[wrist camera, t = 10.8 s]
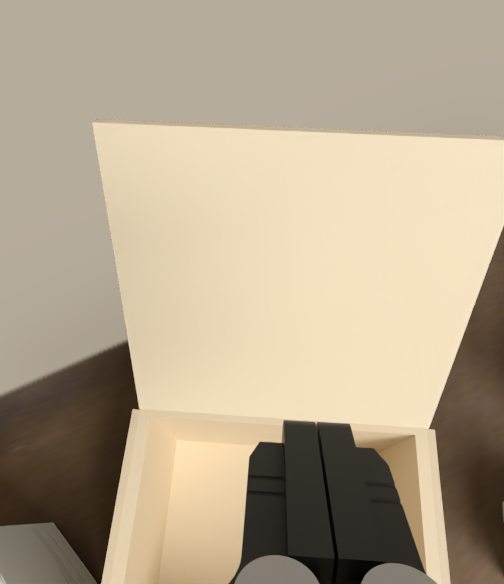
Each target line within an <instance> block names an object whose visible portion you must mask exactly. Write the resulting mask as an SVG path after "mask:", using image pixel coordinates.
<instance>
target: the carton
mask: <svg viewBox="0 0 504 584" xmlns="http://www.w3.org/2000/svg"><path fill="white" fill-rule="evenodd" d="M283 420H292V421H309V420H295V419H280V418H265V417H250V416H236V415H221V414H206V413H191V412H177V411H162V410H147V409H140V410H137V409H132V415H131V420H130V426H129V431H128V437H127V442H126V448H125V454H124V459H123V465H122V470H121V476H120V481H119V487H118V493H117V498H116V504H115V509H114V515H113V520H112V526H111V532H110V537H109V543H108V548H107V554H106V559H105V565H104V571H103V576H102V582H101V584H228V583H229V582H230V581H231V580H232V579H233V577H234V576H235V574H236V572H237V570H238V568H239V565H240V562H241V555H242V543H243V530H244V517H245V505H246V493H247V480H248V467H249V456H250V455H251V453H252V452H253V451H254V449H255V448H256V446H257V445H258V443H259V442H276V443H282V429H283ZM309 422H315V423H316V424H317V422H324V421H309ZM329 423H339V422H329ZM346 424H350V426H351V429H352V433H353V437H354V441H355V445H356V447H362V448H374V449H375V450H376V452H377V453H378V454H379V455H380V456H381V457H382V458H383V459H384V460H385V462H386V463H387V464H388V465H389V468H390V471H391V474H392V477H393V480H394V483H395V488H397V491H398V494H399V497H400V503H401V504H402V506H403V509H404V512H405V515H406V518H407V521H408V524H409V527H410V529H411V532H412V535H413V538H414V541H415V544H416V547H417V550H418V553H419V556H420V559H421V562H422V565H423V568H424V570H425V572H426V575H427V576H429V577H430V578H431V579H433V580H434V581H435V582H436V583H437V584H450V574H449V564H448V555H447V545H446V535H445V525H444V515H443V506H442V496H441V486H440V476H439V466H438V456H437V447H436V437H435V430H431V429H427V428H413V427H398V426H383V425H368V424H354V423H346Z"/></svg>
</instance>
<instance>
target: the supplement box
mask: <svg viewBox="0 0 504 584" xmlns="http://www.w3.org/2000/svg"><path fill="white" fill-rule="evenodd" d="M0 584H97V582H96V581H95V579H94V578H93V576H92V575H91V574H90V572H89V571H88V570H87V568H86V567H85V565H84V564H83V563H82V561H81V560H80V559H79V557H78V556H77V554H76V553H75V552H74V550H73V549H72V548H71V546H70V545H69V543H68V542H67V541H66V539H65V538H64V537H63V535H62V534H61V532H60V531H59V530H58V528H57V527H56V526H55V524H54V523H53V522H52V523H39V524H25V525H10V526H0Z"/></svg>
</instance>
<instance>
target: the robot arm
mask: <svg viewBox="0 0 504 584" xmlns="http://www.w3.org/2000/svg"><path fill="white" fill-rule="evenodd" d="M228 584H437V583H436V582H435V581H434V580H433V579H431V578H430V577H429V576H427V575H426V572H425V570H424V568H423V565H422V562H421V559H420V556H419V553H418V550H417V547H416V544H415V541H414V538H413V535H412V532H411V529H410V527H409V524H408V521H407V518H406V515H405V512H404V509H403V506H402V504H401V503H400V497H399V494H398V491H397V488H395V483H394V480H393V477H392V474H391V471H390V468H389V465H388V464H387V463H386V462H385V460H384V459H383V458H382V457H381V456H380V455H379V454H378V453H377V452H376V450H375V449H374V448H362V447H356V445H355V441H354V437H353V433H352V429H351V426H350V424H346V423H329V422H317V424H316V423H315V422H309V421H292V420H283V429H282V443H276V442H259V443H258V445H257V446H256V448H255V449H254V451H253V452H252V453H251V455H250V456H249V467H248V480H247V493H246V505H245V517H244V530H243V543H242V555H241V562H240V565H239V568H238V570H237V572H236V574H235V576H234V577H233V579H232V580H231V581H230V582H229V583H228Z"/></svg>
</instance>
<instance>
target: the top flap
mask: <svg viewBox="0 0 504 584" xmlns="http://www.w3.org/2000/svg"><path fill="white" fill-rule="evenodd" d="M92 124H93V131H94V137H95V143H96V149H97V155H98V161H99V167H100V173H101V179H102V185H103V192H104V198H105V204H106V209H107V216H108V221H109V228H110V234H111V240H112V246H113V252H114V258H115V264H116V270H117V276H118V282H119V289H120V294H121V300H122V307H123V312H124V319H125V325H126V331H127V337H128V343H129V349H130V355H131V361H132V367H133V373H134V380H135V386H136V392H137V398H138V404H139V409H147V410H162V411H177V412H191V413H206V414H221V415H236V416H250V417H265V418H280V419H295V420H309V421H324V422H339V423H354V424H368V425H383V426H398V427H413V428H427V429H429V427H430V424H431V421H432V419H433V416H434V413H435V410H436V408H437V405H438V402H439V399H440V397H441V394H442V391H443V389H444V386H445V383H446V380H447V378H448V375H449V372H450V370H451V367H452V364H453V361H454V359H455V356H456V353H457V351H458V348H459V345H460V342H461V340H462V337H463V334H464V332H465V329H466V326H467V323H468V321H469V318H470V315H471V313H472V310H473V307H474V304H475V302H476V299H477V296H478V294H479V291H480V288H481V285H482V283H483V280H484V277H485V274H486V272H487V269H488V266H489V264H490V261H491V258H492V255H493V253H494V250H495V247H496V245H497V242H498V239H499V236H500V234H501V231H502V228H503V226H504V137H503V136H502V137H501V136H479V135H456V134H433V133H432V134H431V133H409V132H387V131H385V132H384V131H364V130H363V131H362V130H341V129H317V128H294V127H271V126H247V125H223V124H201V123H178V122H177V123H176V122H154V121H130V120H107V119H96V120H95V121H93V122H92Z"/></svg>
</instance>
